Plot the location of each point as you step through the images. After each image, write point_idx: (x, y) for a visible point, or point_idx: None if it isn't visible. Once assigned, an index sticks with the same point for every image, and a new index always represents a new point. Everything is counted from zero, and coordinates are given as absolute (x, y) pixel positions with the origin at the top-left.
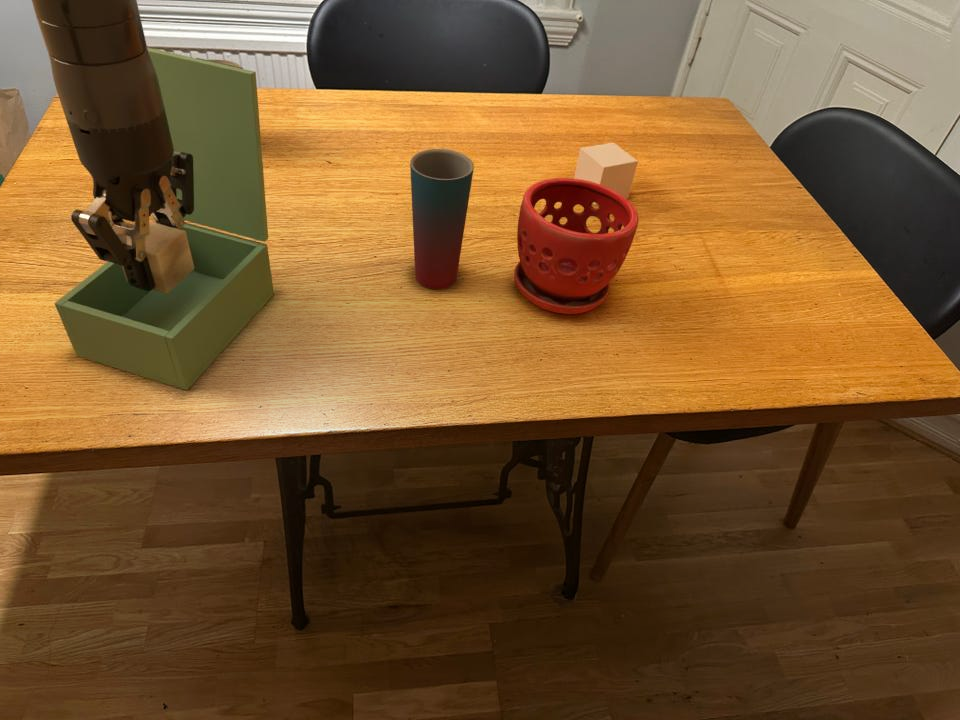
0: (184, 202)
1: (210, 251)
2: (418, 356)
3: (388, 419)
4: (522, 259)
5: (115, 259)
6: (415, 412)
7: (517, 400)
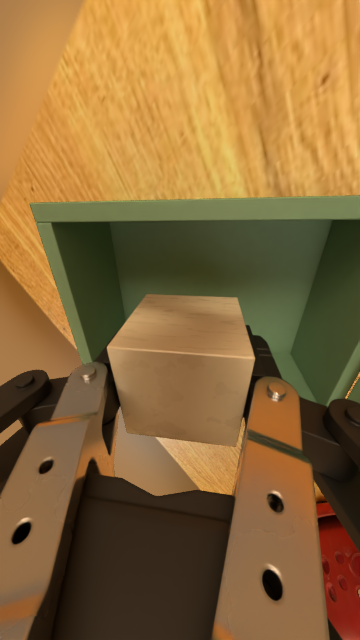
0: (328, 494)
1: (337, 310)
2: (234, 457)
3: (170, 450)
4: (346, 549)
5: (19, 430)
6: (182, 459)
7: (214, 491)
